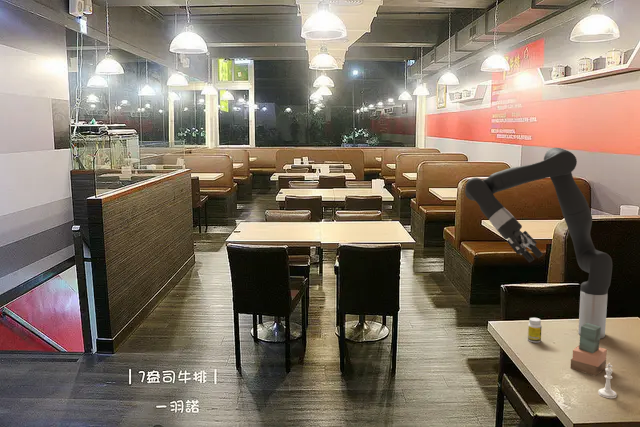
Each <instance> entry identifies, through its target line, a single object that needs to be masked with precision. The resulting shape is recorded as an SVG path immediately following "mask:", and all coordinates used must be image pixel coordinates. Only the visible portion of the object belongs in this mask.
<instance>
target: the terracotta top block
mask: <svg viewBox="0 0 640 427" xmlns="http://www.w3.org/2000/svg"><path fill="white" fill-rule="evenodd" d="M607 350H608V349H607V348H603V347H600V346H599V350H597V351H596V352H594V353H590V352H587V351H583V350H580V349H579V345H578V346H576V347H575V348H574V349H572V358H573V359H572V358H571V359H572V360H574V361H578V362H581V363H585V364H589V365H593V366H596V367H599V366H600V365H601V364H602V363H603V362H604V361H605V360H606V361H607V355H608V354H607Z"/></svg>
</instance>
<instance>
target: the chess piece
mask: <svg viewBox="0 0 640 427" xmlns="http://www.w3.org/2000/svg"><path fill="white" fill-rule="evenodd" d="M604 370H605V373H606V374H604V378H605V386H604V387H602V388H600V389H598V391H597V393H598V395H599V396H600V397H603V398H607V399H615V398H617V392H616V391H614V390H613V389H612V387H611V379H613V376H612V373H613V371H614V370H613V365H612V364H611V362H608V364H607V363H606V368H605V369H604Z"/></svg>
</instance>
